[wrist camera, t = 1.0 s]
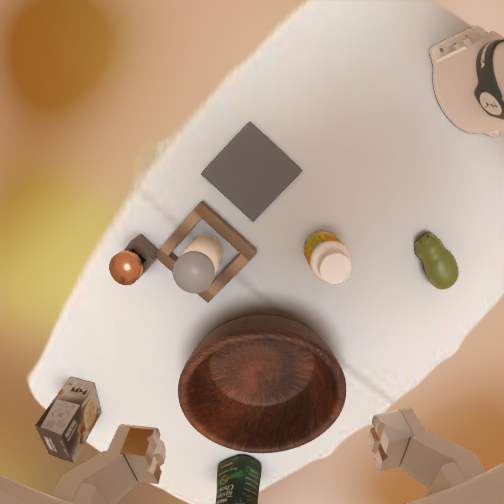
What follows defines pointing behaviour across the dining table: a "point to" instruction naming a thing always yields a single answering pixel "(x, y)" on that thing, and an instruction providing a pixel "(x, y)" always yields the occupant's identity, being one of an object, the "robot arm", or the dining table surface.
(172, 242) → the square wooden frame
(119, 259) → the plunger
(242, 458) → the coffee jar
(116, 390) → the dining table surface
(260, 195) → the pad
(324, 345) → the wooden bowl
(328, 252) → the supplement bottle
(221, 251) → the cylinder
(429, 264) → the pear
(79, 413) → the coffee box
